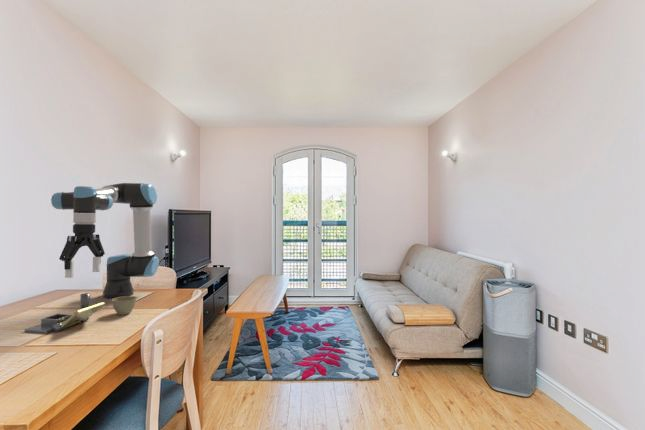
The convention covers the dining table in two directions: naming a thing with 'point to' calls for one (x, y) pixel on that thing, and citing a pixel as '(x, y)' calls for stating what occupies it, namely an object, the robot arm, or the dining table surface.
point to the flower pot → (124, 304)
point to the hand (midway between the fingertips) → (83, 274)
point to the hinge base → (51, 324)
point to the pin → (84, 300)
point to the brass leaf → (81, 315)
